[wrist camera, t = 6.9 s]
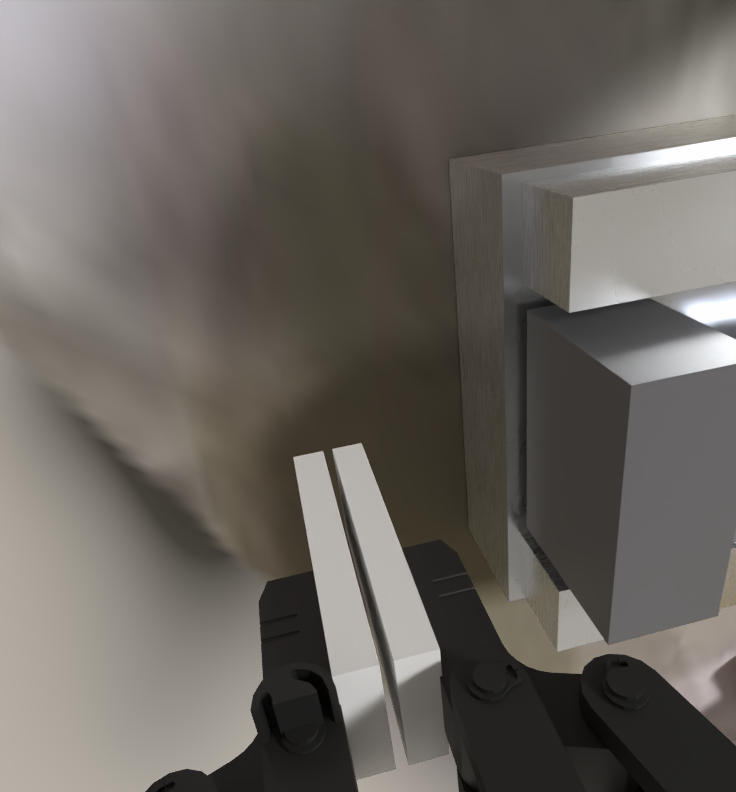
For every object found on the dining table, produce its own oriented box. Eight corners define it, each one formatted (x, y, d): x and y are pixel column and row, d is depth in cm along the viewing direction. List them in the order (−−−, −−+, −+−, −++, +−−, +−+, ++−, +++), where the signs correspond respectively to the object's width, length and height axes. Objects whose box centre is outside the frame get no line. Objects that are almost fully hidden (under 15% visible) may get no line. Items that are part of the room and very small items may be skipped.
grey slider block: (526, 310, 16) (631, 385, 12) (734, 270, 17) (901, 329, 12) (526, 526, 19) (607, 645, 15) (699, 485, 20) (822, 587, 16)
